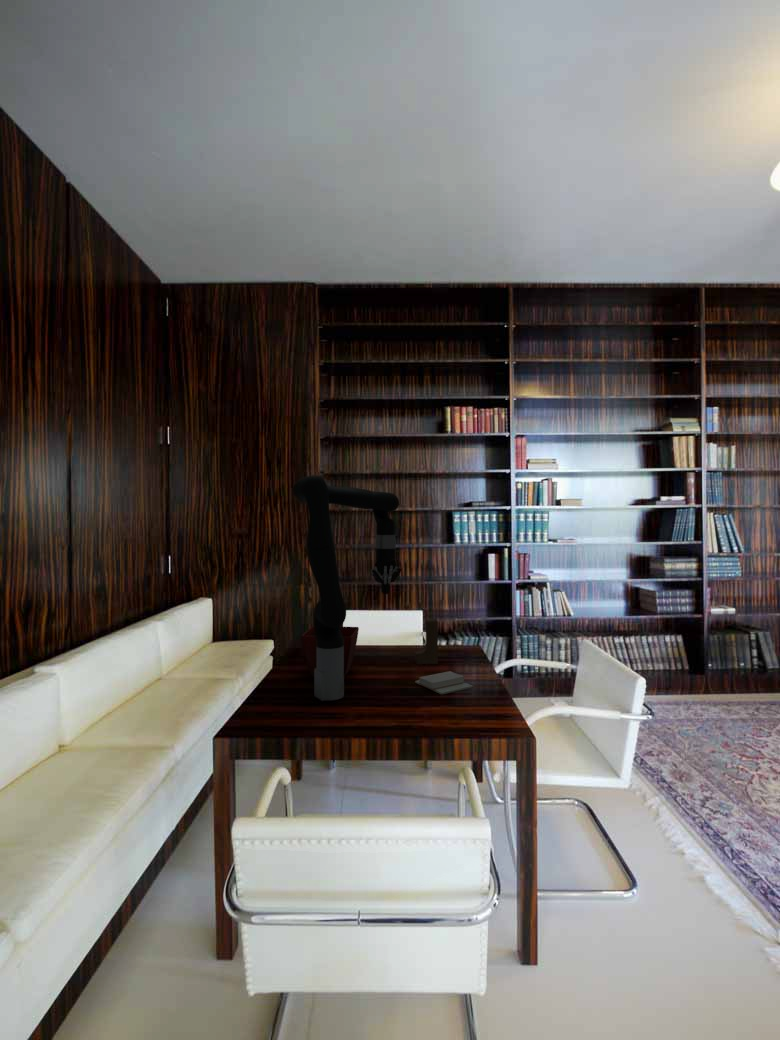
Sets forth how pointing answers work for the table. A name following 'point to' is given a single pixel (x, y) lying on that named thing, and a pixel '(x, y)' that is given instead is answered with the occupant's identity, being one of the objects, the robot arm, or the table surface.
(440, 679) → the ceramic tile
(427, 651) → the wooden block
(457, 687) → the felt pad
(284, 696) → the table surface
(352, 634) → the plant pot
